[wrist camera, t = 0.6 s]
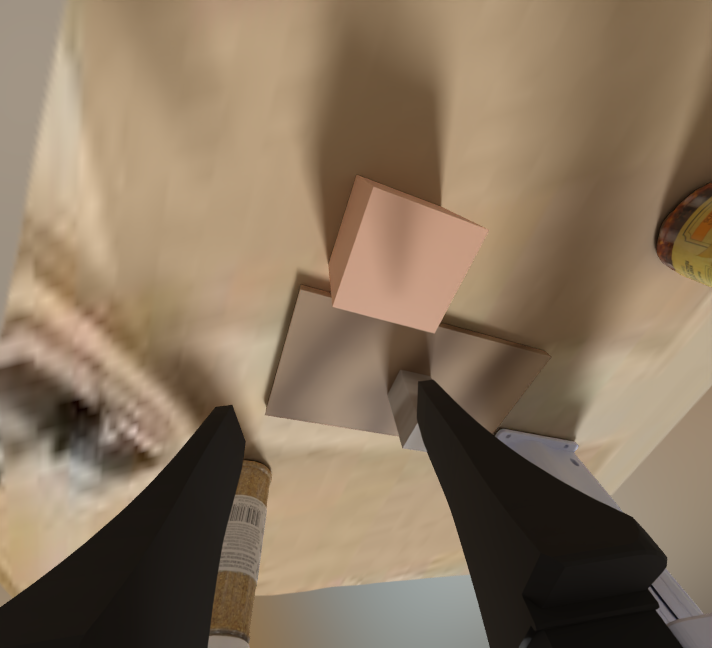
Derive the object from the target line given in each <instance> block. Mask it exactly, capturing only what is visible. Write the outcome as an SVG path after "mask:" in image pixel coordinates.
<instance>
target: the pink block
mask: <svg viewBox="0 0 712 648" xmlns="http://www.w3.org/2000/svg"><path fill="white" fill-rule="evenodd" d="M488 232H489V230H488V229H486V228H484V227H482V226H480V225H478V224H476V223H474V222H472V221H470V220H468V219H465V218H463V217H461V216H459V215H457V214H455V213H453V212H451V211H449V210H447V209H445V208H443V207H440V206H438V205H435V204H433V203H430V202H427V201H425V200H422V199H419V198H417V197H414V196H412V195H409V194H406V193H404V192H401V191H398V190H396V189H393V188H391V187H388V186H385V185H383V184H380V183H377V182H375V181H372V180H369V179H367V178H364V177H362V176H359V175H356V178H355V181H354V184H353V188H352V191H351V194H350V197H349V200H348V204H347V207H346V210H345V213H344V216H343V219H342V223H341V226H340V229H339V232H338V235H337V239H336V242H335V245H334V248H333V251H332V255H331V258H330V261H329V264H328V266H329V276H330V286H331V297H332V307H335V308H338V309H342V310H346V311H350V312H354V313H358V314H362V315H365V316H369V317H373V318H377V319H381V320H385V321H388V322H392V323H396V324H400V325H404V326H408V327H411V328H415V329H419V330H423V331H427V332H431V333H434V334H435V332H436V330H437V328H438V326H439V324H440V322H441V321H442V319H443V317H444V315H445V313H446V311H447V309H448V307H449V305H450V304H451V302H452V300H453V298H454V296H455V294H456V292H457V290H458V289H459V287H460V285H461V283H462V281H463V279H464V277H465V275H466V273H467V272H468V270H469V268H470V266H471V264H472V262H473V260H474V258H475V257H476V255H477V253H478V251H479V249H480V247H481V245H482V243H483V241H484V240H485V238H486V236H487V234H488Z"/></svg>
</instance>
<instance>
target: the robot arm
mask: <svg viewBox="0 0 712 648" xmlns="http://www.w3.org/2000/svg"><path fill="white" fill-rule="evenodd" d="M417 422H418V426H419V429H420V433H421V436H422V440H423V443H424V445H425V448H426V450H427V453H428V455H429V458H430V460H431V463H432V465H433V467H434V470H435V472H436V475H437V477H438V479H439V482H440V484H441V487H442V489H443V492H444V494H445V496H446V499H447V502H448V504H449V507H450V510H451V513H452V516H453V519H454V522H455V526H456V529H457V532H458V535H459V538H460V542H461V545H462V548H463V552H464V555H465V559H466V562H467V565H468V569H469V572H470V576H471V579H472V583H473V586H474V590H475V593H476V597H477V600H478V604H479V608H480V612H481V615H482V619H483V623H484V626H485V630H486V634H487V638H488V642H489V646H490V648H712V613H708V614H703V612H702V611H701V610H700V609H699V607H698V606H697V605H696V604H695V602H694V601H693V600H692V599H691V598H690V596H689V595H688V594H687V593H686V592H685V590H684V589H683V588H682V587H681V586H680V584H679V583H678V582H677V581H676V580H675V579H674V577H673V576H672V575H671V574H670V573H669V572H668V570H667V569H666V566H667V557H666V555H665V554H664V553H663V551H662V550H661V549H660V548H659V547H658V545H657V544H656V543H655V542H654V541H653V539H652V538H651V537H650V536H649V535H648V534H647V532H646V531H645V530H644V529H643V528H642V527H641V526H640V525H639V524H638V523H637V522H636V520H635V519H633V517H631V516H629V515H627V514H625V513H623V512H622V510H621V509H620V507H619V506H618V505H617V503H616V502H615V501H614V500H613V499H612V497H611V496H610V495H609V494H608V493H607V492H606V490H605V489H604V488H603V487H602V486H601V484H600V483H599V482H598V481H597V480H596V478H595V477H594V476H593V475H592V474H591V472H590V471H589V470H588V469H587V468H586V467H585V465H584V464H583V463H582V462H581V461H580V459H579V458H578V457H577V456H576V455H575V453H574V452H575V451H576V449H577V448H578V444H577V443H576V442H573V441H568V440H562V439H557V438H551V437H546V436H541V435H535V434H530V433H524V432H519V431H513V430H508V429H501V430H499V431H498V432H497V433H496V435H495V436H494V435H493V434H492V433H490V432H489V431H488V430H487V429H485V428H484V427H483V426H482V425H481V424H480V423H478V422H477V421H476V420H475V419H474V418H473V417H472V416H471V415H469V414H468V413H467V412H466V411H465V410H464V409H463V408H462V407H461V406H460V405H459V404H458V403H457V402H456V401H455V400H454V399H453V398H452V397H451V396H450V395H449V394H448V393H447V392H446V391H445V390H444V389H443V388H442V387H441V386H440V385H439V384H438V383H437V382H436V381H435V380H425V381H418V396H417ZM244 450H245V439H244V436H243V433H242V431H241V428H240V425H239V422H238V420H237V417H236V414H235V411H234V409H233V406H232V405H228V406H220V407H215V409H214V410H213V411H212V412H211V413H210V415H209V416H208V417H207V418H206V419H205V421H204V422H203V423H202V424H201V426H200V427H199V428H198V429H197V431H196V432H195V433H194V434H193V435H192V437H191V438H190V439H189V440H188V441H187V443H186V444H185V445H184V446H183V447H182V449H181V450H180V451H179V452H178V453H177V454H176V456H175V457H174V458H173V459H172V460H171V461H170V462H169V464H168V465H167V466H166V467H165V468H164V469H163V470H162V471H161V472H160V473H159V474H158V476H157V477H156V478H155V479H154V480H153V481H152V482H151V483H150V484H149V485H148V486H147V487H146V488H145V489H144V490H143V491H142V492H141V493H140V494H139V495H138V496H137V497H136V498H135V499H134V500H133V501H132V502H131V503H130V504H129V505H128V506H127V507H126V508H125V509H123V510H122V511H121V512H120V513H119V514H118V515H117V516H116V517H115V518H113V519H112V520H111V521H110V522H109V523H108V524H107V525H105V526H104V527H103V528H102V529H101V530H100V531H98V532H97V533H96V534H95V535H94V536H93V537H92V538H90V539H89V540H88V541H87V542H86V543H85V544H83V545H82V546H81V547H80V548H78V549H77V550H76V551H75V552H73V553H72V554H71V555H70V556H68V557H67V558H66V559H65V560H63V561H62V562H61V563H60V564H58V565H57V566H56V567H54V568H53V569H52V570H51V571H49V572H48V573H47V574H45V575H44V576H43V577H41V578H40V579H39V580H37V581H36V582H35V583H33V584H32V585H31V586H29V587H28V588H27V589H25V590H24V591H22V592H21V593H20V594H18V595H17V596H15V597H14V598H13V599H11V600H10V601H9V602H7V603H6V604H4V605H3V606H1V607H0V648H208V641H209V633H210V625H211V617H212V610H213V603H214V596H215V589H216V582H217V576H218V570H219V564H220V558H221V552H222V546H223V541H224V536H225V532H226V528H227V524H228V520H229V516H230V513H231V509H232V505H233V501H234V497H235V494H236V490H237V486H238V482H239V478H240V474H241V470H242V465H243V458H244Z"/></svg>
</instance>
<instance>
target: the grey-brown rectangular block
mask: <svg viewBox="0 0 712 648" xmlns="http://www.w3.org/2000/svg"><path fill="white" fill-rule="evenodd" d="M550 358H551V356H550V355H549V354H548V353H547V352H545V351H543V350H540V349H536V348H532V347H529V346H525V345H521V344H518V343H514V342H510V341H507V340H503V339H499V338H495V337H492V336H488V335H484V334H481V333H477V332H473V331H470V330H466V329H462V328H459V327H455V326H451V325H448V324H444V323H440V324H439V326H438V328H437V330H436V332H435V334H434V333H431V332H427V331H423V330H419V329H415V328H411V327H408V326H404V325H400V324H396V323H392V322H388V321H385V320H381V319H377V318H373V317H369V316H365V315H362V314H358V313H354V312H350V311H346V310H342V309H338V308H335V307H332V297H331V293H330V292H326V291H323V290H319V289H315V288H312V287H308V286H304V285H301V286H300V290H299V293H298V297H297V300H296V304H295V307H294V311H293V315H292V318H291V322H290V325H289V329H288V332H287V336H286V340H285V343H284V347H283V350H282V354H281V357H280V361H279V365H278V368H277V372H276V375H275V379H274V382H273V386H272V390H271V393H270V397H269V400H268V404H267V407H266V413H265V415H268V416H274V417H280V418H287V419H293V420H299V421H305V422H312V423H318V424H324V425H330V426H337V427H343V428H349V429H355V430H362V431H368V432H374V433H380V434H387V435H393V436H399V438H400V441H401V445H402V448H404V449H411V450H418V451H424V452H427V450H426V448H425V445H424V443H423V440H422V436H421V433H420V429H419V426H418V422H417V396H418V381H425V380H435V381H436V382H437V383H438V384H439V385H440V386H441V387H442V388H443V389H444V390H445V391H446V392H447V393H448V394H449V395H450V396H451V397H452V398H453V399H454V400H455V401H456V402H457V403H458V404H459V405H460V406H461V407H462V408H463V409H464V410H465V411H466V412H467V413H468V414H469V415H471V416H472V417H473V418H474V419H475V420H476V421H477V422H478V423H480V424H481V425H482V426H483V427H484V428H485V429H487V430H488V431H489V432H490V433H492V434H493V433H494V431H495V430H496V429H497V428H498V426H499V425H500V424H501V422H502V421H503V420H504V418H505V417H506V416H507V414H508V413H509V412H510V410H511V409H512V408H513V406H514V405H515V404H516V403H517V401H518V400H519V399H520V397H521V396H522V395H523V393H524V392H525V391H526V389H527V388H528V387H529V385H530V384H531V383H532V381H533V380H534V379H535V378H536V376H537V375H538V374H539V372H540V371H541V370H542V368H543V367H544V366H545V364H546V363H547V362H548V360H549V359H550Z"/></svg>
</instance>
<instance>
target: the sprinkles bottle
mask: <svg viewBox="0 0 712 648" xmlns="http://www.w3.org/2000/svg"><path fill="white" fill-rule="evenodd" d="M271 480H272V474H271V472H270V470H269V469H268V468H267V467H266V466H265V465H263V464H261V463H258V462H255V461H248V460H243V465H242V470H241V474H240V478H239V482H238V486H237V490H236V494H235V497H234V501H233V505H232V509H231V513H230V516H229V520H228V524H227V528H226V532H225V536H224V541H223V546H222V552H221V558H220V564H219V570H218V576H217V582H216V589H215V596H214V603H213V610H212V617H211V625H210V633H209V641H208V648H250V647H249V640H250V637H249V633H250V623H251V616H252V609H253V602H254V596H255V589H256V586H257V580H258V573H259V565H260V558H261V550H262V542H263V535H264V528H265V520H266V513H267V510H266V507H267V499H268V493H269V485H270V483H271Z"/></svg>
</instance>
